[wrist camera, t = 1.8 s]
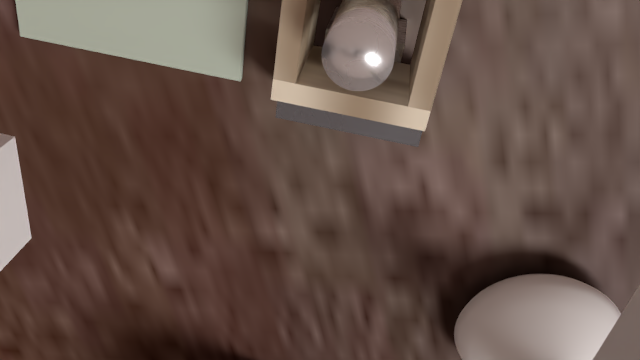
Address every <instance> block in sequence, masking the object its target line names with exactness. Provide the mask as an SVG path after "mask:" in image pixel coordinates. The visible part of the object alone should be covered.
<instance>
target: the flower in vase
mask: <svg viewBox="0 0 640 360" xmlns="http://www.w3.org/2000/svg"><path fill="white" fill-rule="evenodd" d="M620 315H621V313H620V311H619V310H618V308H617V307H616V305H615V304H614V303H613V302H612V300H610V299H609V298H608V297H607V296H606V295H605V294H603V293H602V292H600V291H599V290H597V289H596V288H594V287H592V286H590V285H588V284H586V283H583V282H581V281H578V280H576V279H573V278H569V277H565V276H561V275H554V274H526V275H520V276H515V277H511V278H507V279H504V280H502V281H499V282H497V283H494V284H492V285H490V286H488V287H487V288H485V289H484V290H482V291H481V292H479V293H478V294H477V295H476V296H474V297H473V298H472V299H471V300H470V301H469V302H468V304H467V305H466V306H465V307H464V308H463V310H462V311H461V313H460V314H459V316H458V319H457V321H456V324H455V328H454V340H455V345H456V348H457V351H458V353H459V355H460V356H461V358H462V360H593V358H594V357H595V355H596V354H597V352H598V350H599V349H600V347H601V346H602V344H603V342H604V341H605V339H606V338H607V336H608V334H609V333H610V331H611V330H612V328H613V326H614V325H615V323H616V322H617V320H618V318H619V317H620Z"/></svg>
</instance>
